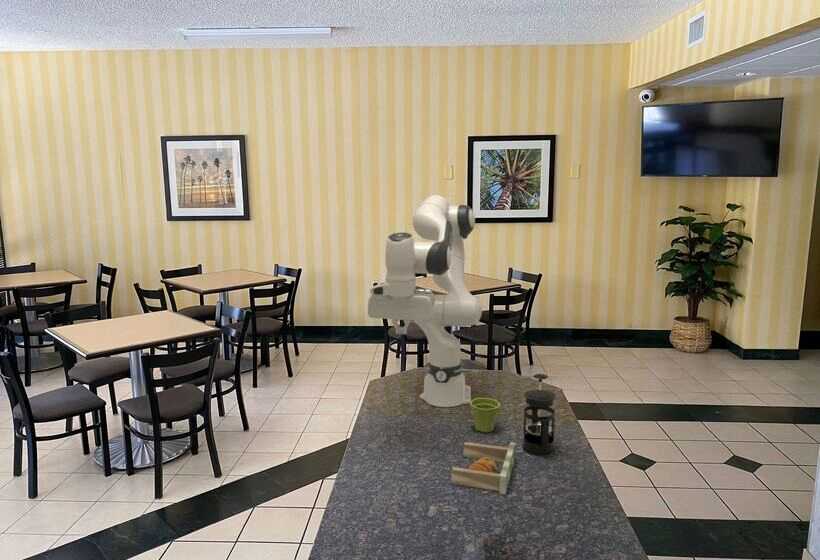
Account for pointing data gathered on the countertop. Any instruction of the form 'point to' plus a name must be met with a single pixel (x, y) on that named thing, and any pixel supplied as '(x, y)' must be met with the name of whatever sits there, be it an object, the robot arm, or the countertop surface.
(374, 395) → the countertop surface
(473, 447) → the wooden wall rack
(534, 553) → the countertop surface
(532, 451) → the french press
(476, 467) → the pastry
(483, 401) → the plant pot
